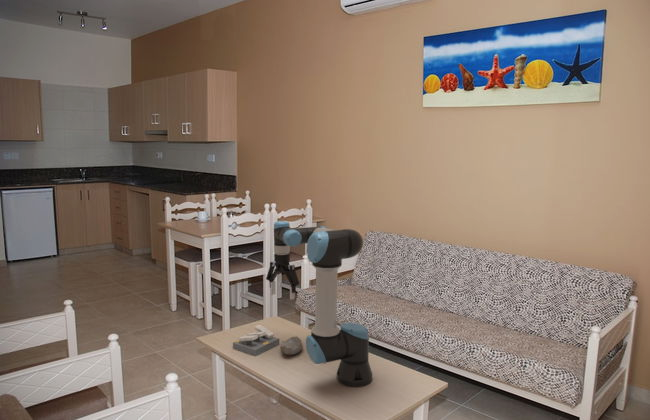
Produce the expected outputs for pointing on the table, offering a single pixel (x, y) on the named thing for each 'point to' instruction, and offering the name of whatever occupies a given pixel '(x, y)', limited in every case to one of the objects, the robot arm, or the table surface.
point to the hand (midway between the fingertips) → (282, 296)
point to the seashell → (291, 346)
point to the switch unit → (256, 345)
